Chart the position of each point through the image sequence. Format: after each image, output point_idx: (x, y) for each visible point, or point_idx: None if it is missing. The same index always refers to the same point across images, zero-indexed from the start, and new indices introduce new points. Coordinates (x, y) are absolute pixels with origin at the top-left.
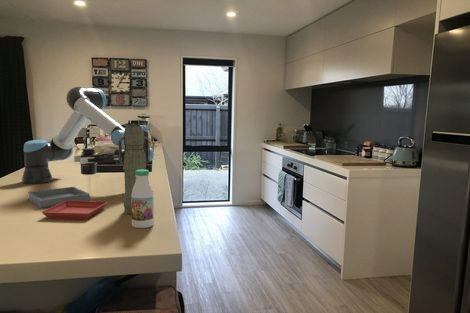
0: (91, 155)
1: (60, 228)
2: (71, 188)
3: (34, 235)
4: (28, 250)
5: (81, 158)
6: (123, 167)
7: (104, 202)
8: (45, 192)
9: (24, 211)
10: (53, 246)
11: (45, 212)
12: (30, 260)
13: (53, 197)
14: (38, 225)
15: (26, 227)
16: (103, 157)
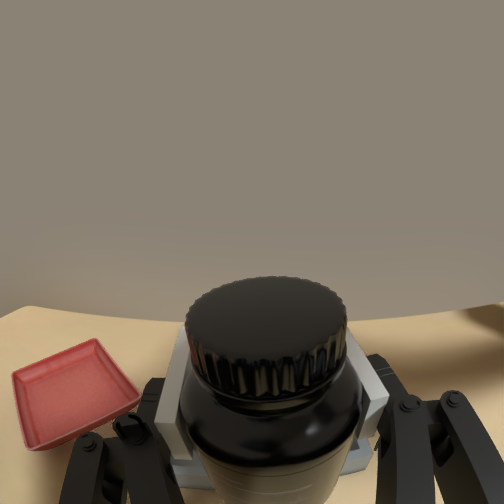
0: (185, 391)
1: (37, 351)
2: (357, 446)
3: (50, 329)
4: (26, 317)
5: (181, 334)
6: None
7: (34, 447)
8: None
9: None
10: (10, 329)
11: (87, 341)
12: (11, 313)
13: None
14: (78, 341)
15: (86, 331)
16: (65, 477)
